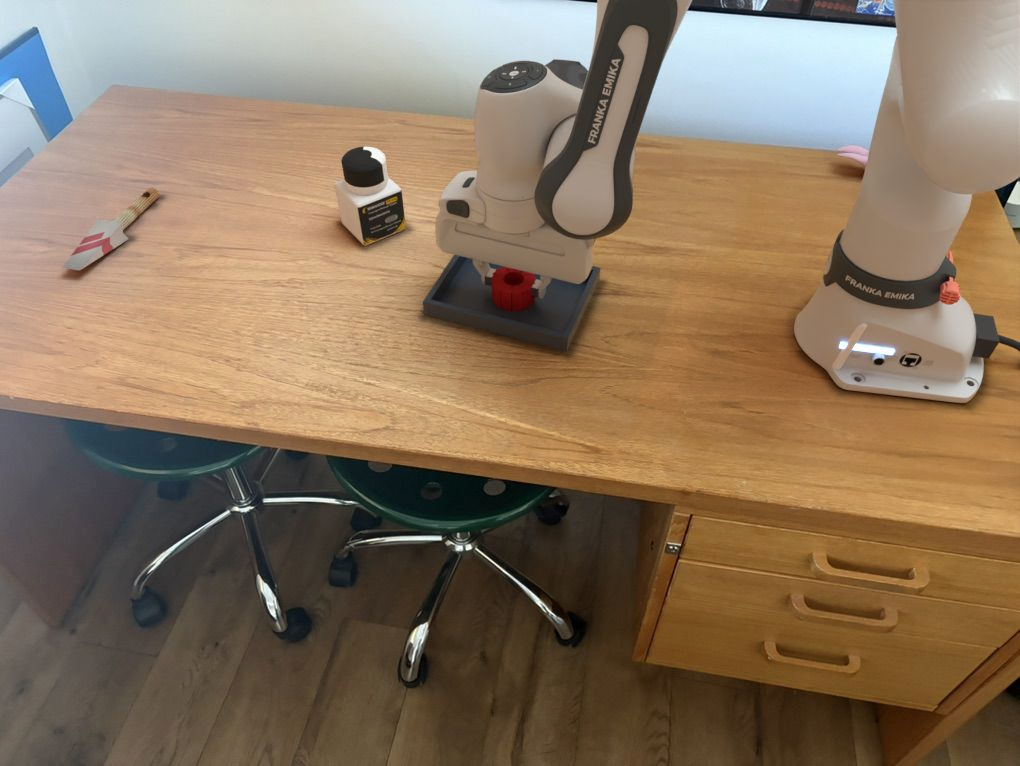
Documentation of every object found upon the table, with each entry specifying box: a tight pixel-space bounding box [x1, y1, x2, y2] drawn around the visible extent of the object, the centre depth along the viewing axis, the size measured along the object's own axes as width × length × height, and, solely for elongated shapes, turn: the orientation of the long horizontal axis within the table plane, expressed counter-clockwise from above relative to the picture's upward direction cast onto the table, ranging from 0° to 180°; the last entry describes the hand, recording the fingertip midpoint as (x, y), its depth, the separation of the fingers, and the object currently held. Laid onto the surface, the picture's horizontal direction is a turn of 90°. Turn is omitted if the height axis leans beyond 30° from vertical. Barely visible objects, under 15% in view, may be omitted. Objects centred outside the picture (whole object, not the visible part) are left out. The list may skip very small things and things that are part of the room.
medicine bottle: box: [334, 146, 407, 247], centre depth 113 cm, size 7×7×12 cm
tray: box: [422, 254, 601, 352], centre depth 106 cm, size 20×15×3 cm
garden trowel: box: [62, 187, 160, 272], centre depth 115 cm, size 4×3×20 cm
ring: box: [492, 266, 536, 311], centre depth 105 cm, size 6×6×3 cm
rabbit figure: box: [836, 144, 870, 171], centre depth 124 cm, size 6×6×15 cm
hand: (513, 288), depth 105 cm, fingers closed on ring, 5 cm apart
